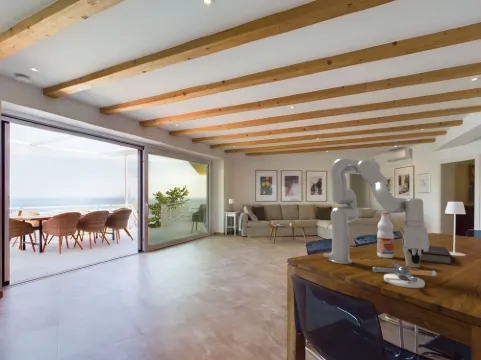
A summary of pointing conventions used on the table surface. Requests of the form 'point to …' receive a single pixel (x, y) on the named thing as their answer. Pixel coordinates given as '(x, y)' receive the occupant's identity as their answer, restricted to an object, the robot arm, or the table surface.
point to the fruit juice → (385, 237)
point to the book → (437, 255)
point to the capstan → (404, 272)
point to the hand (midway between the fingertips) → (415, 263)
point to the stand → (403, 281)
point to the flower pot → (410, 260)
